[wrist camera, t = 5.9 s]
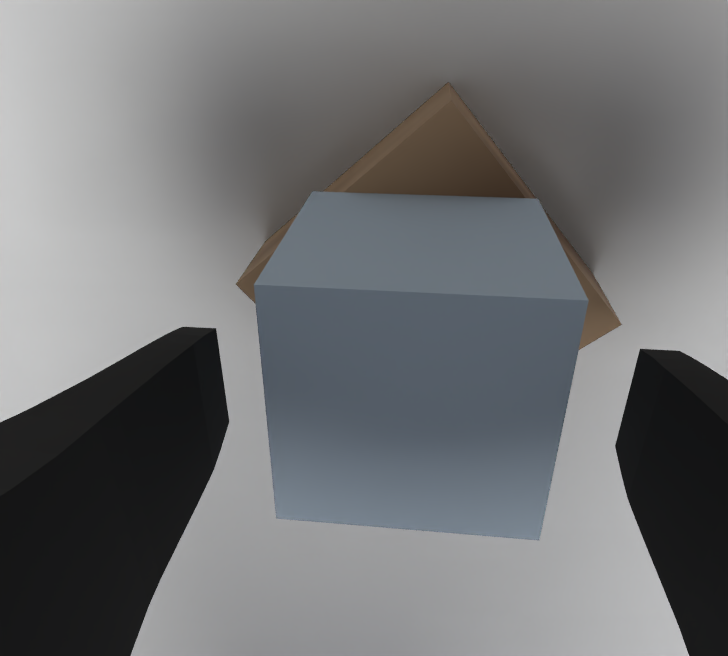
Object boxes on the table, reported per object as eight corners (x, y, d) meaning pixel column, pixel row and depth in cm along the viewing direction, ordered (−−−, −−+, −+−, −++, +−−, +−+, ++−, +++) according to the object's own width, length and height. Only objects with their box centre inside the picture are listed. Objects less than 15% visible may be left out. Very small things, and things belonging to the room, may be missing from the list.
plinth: (590, 269, 16) (621, 324, 13) (410, 385, 18) (406, 452, 15) (448, 80, 14) (451, 99, 11) (268, 237, 16) (235, 284, 13)
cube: (538, 198, 12) (588, 300, 8) (510, 387, 14) (538, 539, 10) (312, 191, 12) (253, 284, 8) (319, 375, 14) (276, 518, 10)
